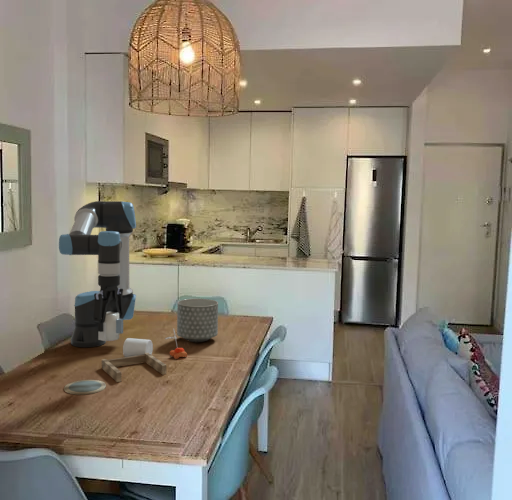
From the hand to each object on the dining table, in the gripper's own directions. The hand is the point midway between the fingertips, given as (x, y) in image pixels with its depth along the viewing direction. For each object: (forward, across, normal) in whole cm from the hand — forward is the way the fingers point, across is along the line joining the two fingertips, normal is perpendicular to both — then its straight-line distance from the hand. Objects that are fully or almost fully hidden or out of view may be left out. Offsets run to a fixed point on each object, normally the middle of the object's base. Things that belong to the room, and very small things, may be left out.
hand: (109, 337), depth 194 cm
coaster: (+16, +9, -3) cm, 19 cm away
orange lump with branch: (+16, -37, +7) cm, 41 cm away
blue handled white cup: (0, 0, +1) cm, 1 cm away
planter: (+16, -64, +2) cm, 67 cm away
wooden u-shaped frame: (+16, -13, +1) cm, 21 cm away
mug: (+16, -31, -7) cm, 35 cm away
